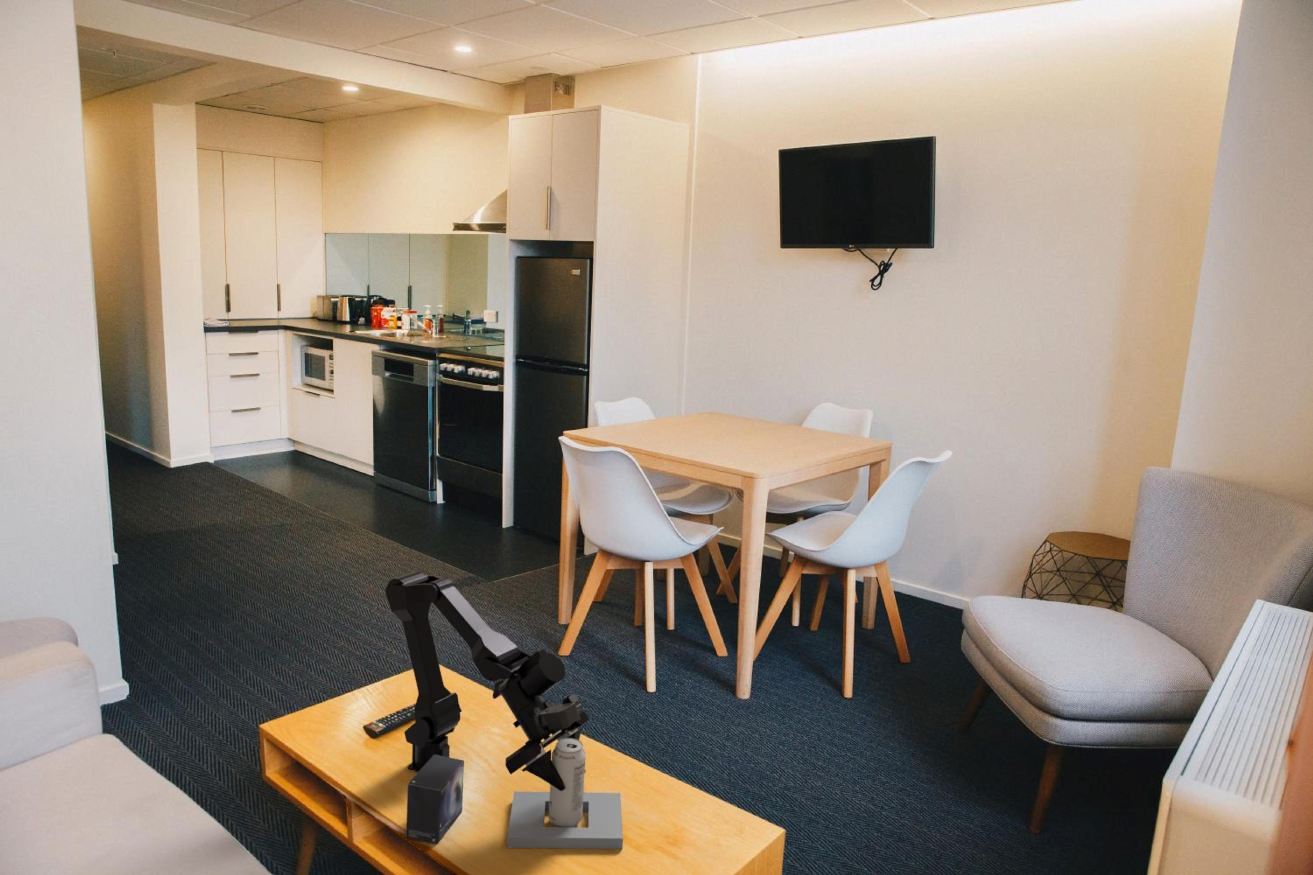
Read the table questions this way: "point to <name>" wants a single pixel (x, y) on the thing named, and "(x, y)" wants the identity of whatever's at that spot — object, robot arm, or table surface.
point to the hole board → (533, 834)
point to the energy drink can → (568, 783)
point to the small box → (434, 799)
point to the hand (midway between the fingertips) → (573, 781)
